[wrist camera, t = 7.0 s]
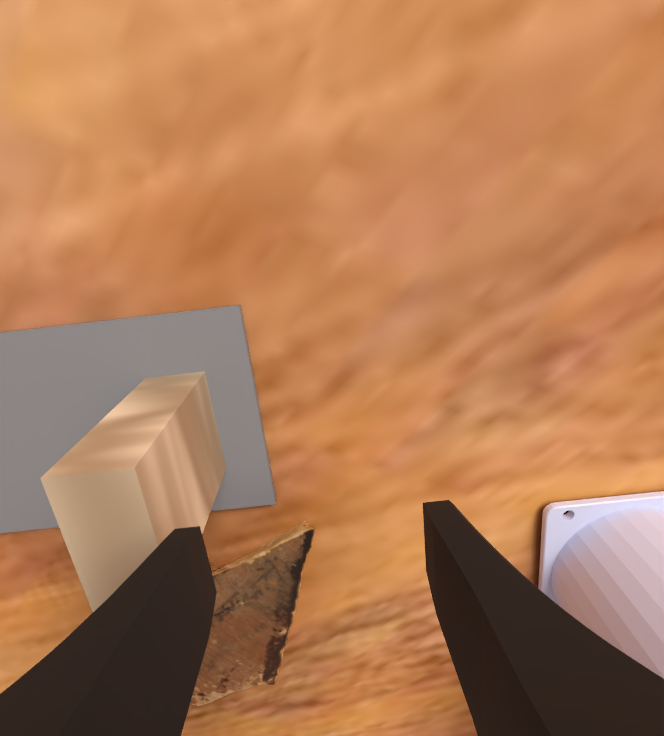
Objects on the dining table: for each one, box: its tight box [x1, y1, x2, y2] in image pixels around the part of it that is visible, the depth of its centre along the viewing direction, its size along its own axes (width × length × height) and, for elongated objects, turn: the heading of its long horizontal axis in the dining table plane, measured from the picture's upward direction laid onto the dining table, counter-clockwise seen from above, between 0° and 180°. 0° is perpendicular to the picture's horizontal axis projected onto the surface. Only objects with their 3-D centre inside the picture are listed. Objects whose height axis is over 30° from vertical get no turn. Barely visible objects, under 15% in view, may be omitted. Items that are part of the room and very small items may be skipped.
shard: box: [190, 520, 315, 706], centre depth 22 cm, size 11×8×2 cm
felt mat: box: [0, 305, 276, 533], centre depth 19 cm, size 14×9×1 cm, turn 96°
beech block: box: [40, 372, 226, 612], centre depth 15 cm, size 2×4×7 cm, turn 7°
